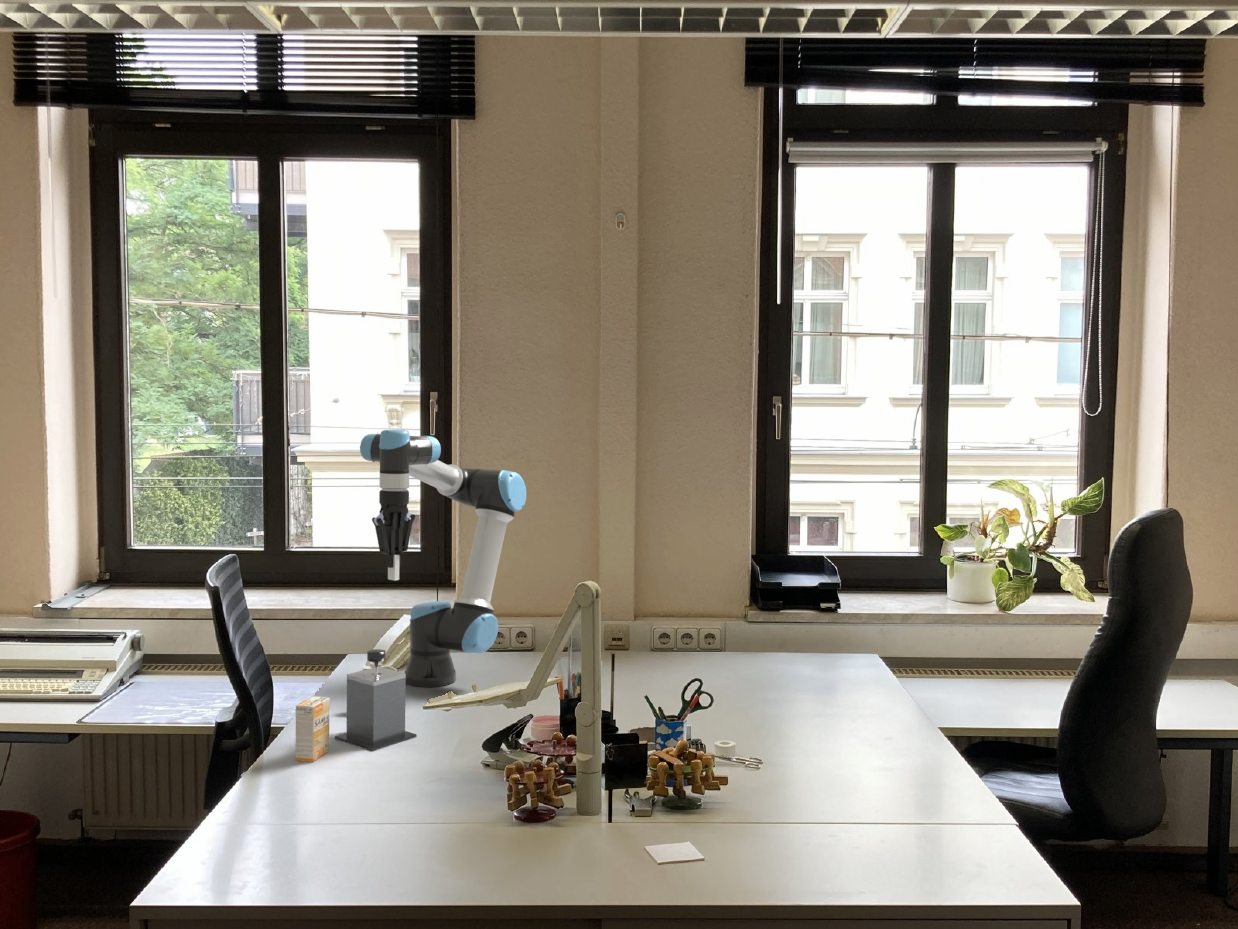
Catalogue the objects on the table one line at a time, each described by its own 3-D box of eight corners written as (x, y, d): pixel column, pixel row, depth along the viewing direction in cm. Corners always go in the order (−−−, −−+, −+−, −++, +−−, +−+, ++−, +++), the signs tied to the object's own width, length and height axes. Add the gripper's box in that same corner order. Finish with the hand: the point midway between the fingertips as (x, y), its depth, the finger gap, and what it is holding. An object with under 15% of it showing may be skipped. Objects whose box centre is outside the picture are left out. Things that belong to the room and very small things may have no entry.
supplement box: (313, 762, 247) (314, 707, 246) (294, 761, 248) (294, 705, 247) (330, 751, 255) (330, 697, 254) (311, 749, 256) (311, 695, 255)
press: (376, 724, 275) (377, 663, 274) (416, 736, 266) (417, 673, 265) (332, 737, 264) (332, 674, 263) (372, 751, 255) (372, 685, 254)
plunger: (377, 703, 270) (378, 646, 268) (397, 709, 265) (397, 651, 264) (354, 710, 264) (355, 651, 263) (374, 716, 259) (374, 656, 258)
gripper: (403, 486, 285) (402, 574, 287) (364, 489, 275) (364, 580, 277) (423, 488, 281) (422, 578, 282) (384, 492, 270) (383, 584, 272)
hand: (393, 579), depth 279 cm, fingers closed
